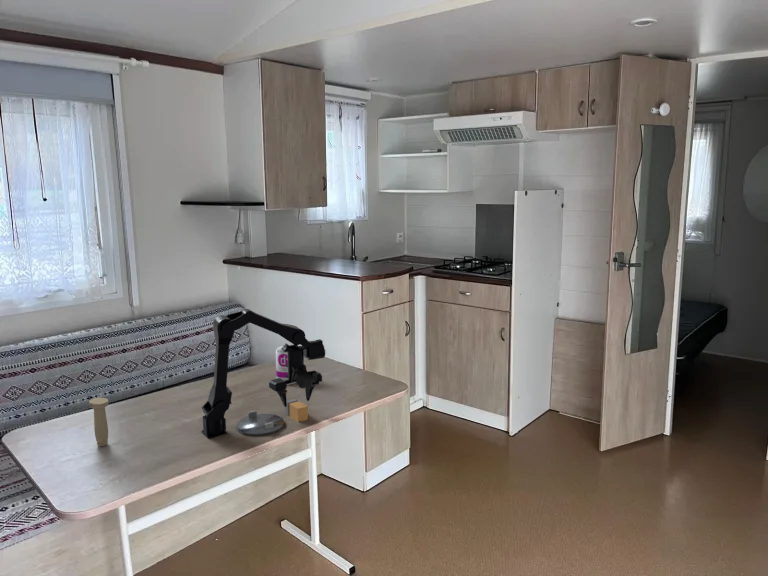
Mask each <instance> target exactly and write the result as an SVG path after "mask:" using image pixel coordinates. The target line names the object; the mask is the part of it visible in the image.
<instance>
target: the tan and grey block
mask: <svg viewBox="0 0 768 576" xmlns="http://www.w3.org/2000/svg"><path fill="white" fill-rule="evenodd" d="M308 407H309V406H308V405H307V404H305V403H303V402H301V401H299V400H298V399H296V398H292V399H289V400H288V399H287V406H286V407H285V415H286V416H288V417H289V418H291V419H292V420H293V421H295V420H296V421H295V422H297V423H300V422H299V421H301V422H304V421H307V419H309V417H308V415H309V413H308V412H309V410H308V409H309V408H308Z"/></svg>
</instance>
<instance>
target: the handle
mask: <svg viewBox="0 0 768 576" xmlns="http://www.w3.org/2000/svg"><path fill="white" fill-rule="evenodd" d="M88 403H89V406H90V409H93V421H94V422H93V425H94V428H93V429H94V436H95V437H94V438H95V441H96V445H97V447H98V446H100V447H101V446H104V447H106V446H107V445H108V444H109V426H108V419H107V413H106V407H108V405H109V399H108V398H106V397H105V398H104V397H94V398H92V399H89V401H88ZM109 406H110V405H109ZM105 445H106V446H105Z"/></svg>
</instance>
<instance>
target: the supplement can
mask: <svg viewBox="0 0 768 576" xmlns="http://www.w3.org/2000/svg"><path fill="white" fill-rule="evenodd" d="M284 345H285V344H283V345H278V346H276V350H275V375H276V376H275V379H278V378H280V379H282V380H288V378H286V375H288V367H286V364H287V363H288V359H287V352H284V351H283V350H282V349H281V348H282V347H283V346H284Z"/></svg>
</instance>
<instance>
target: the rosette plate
mask: <svg viewBox="0 0 768 576" xmlns="http://www.w3.org/2000/svg"><path fill="white" fill-rule="evenodd" d="M284 423H285V420H284V419H283V417H282V416H280V415H278V414H273V413H257V410H255V409H254V410H252V411H248V412H247V416H244V417H242V418H241V419H239V420H238V421H237V422H236V430H237V432H238V433H240V434H242V435H244V436H250V437H256V436H257V437H262V436H267V435H272V434H274V433H277V432H279V431H281V430H282V429H283V427H284Z"/></svg>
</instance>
